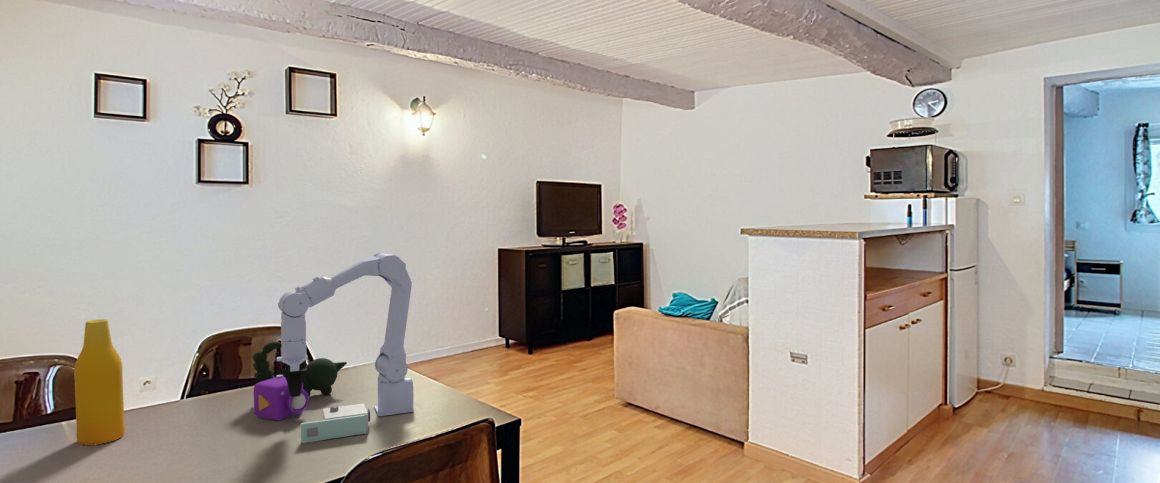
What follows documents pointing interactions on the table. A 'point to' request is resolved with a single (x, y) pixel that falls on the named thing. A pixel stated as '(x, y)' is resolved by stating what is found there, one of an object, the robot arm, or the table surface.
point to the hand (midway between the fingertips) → (295, 391)
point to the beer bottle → (98, 387)
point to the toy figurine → (318, 370)
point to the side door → (334, 428)
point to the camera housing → (345, 411)
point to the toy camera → (277, 399)
